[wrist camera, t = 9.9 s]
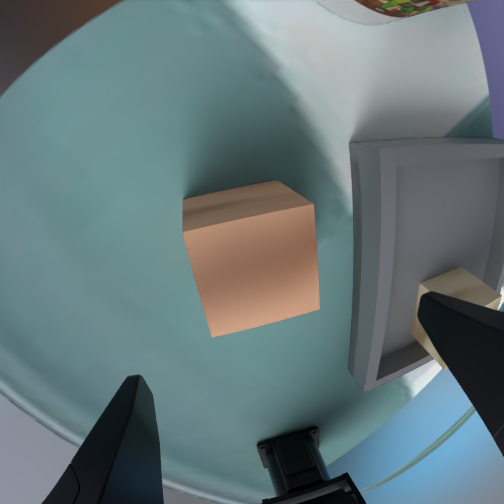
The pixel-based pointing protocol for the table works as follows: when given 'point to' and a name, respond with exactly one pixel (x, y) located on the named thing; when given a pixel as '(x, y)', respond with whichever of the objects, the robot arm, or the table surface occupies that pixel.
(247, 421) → the table surface
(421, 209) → the charcoal tray
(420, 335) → the birch block
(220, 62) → the table surface
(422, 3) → the milk bottle
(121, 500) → the robot arm
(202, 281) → the terracotta block
